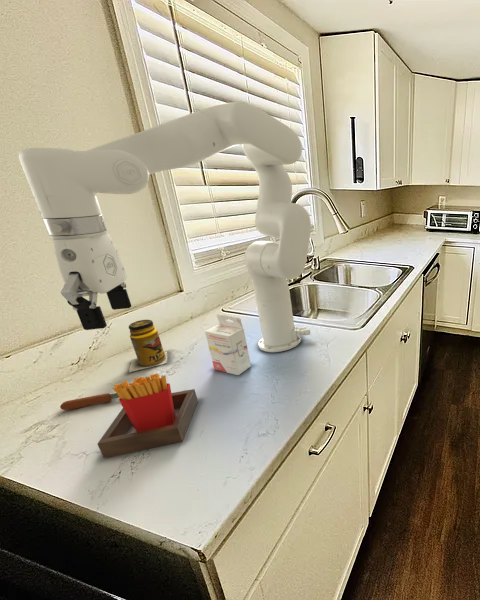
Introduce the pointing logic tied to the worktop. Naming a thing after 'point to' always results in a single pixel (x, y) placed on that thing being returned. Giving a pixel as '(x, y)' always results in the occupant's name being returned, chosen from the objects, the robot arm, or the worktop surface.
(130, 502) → the worktop surface
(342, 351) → the worktop surface
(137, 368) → the condiment
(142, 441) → the holder
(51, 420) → the worktop surface
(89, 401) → the kitchen knife
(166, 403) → the french fries
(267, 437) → the worktop surface
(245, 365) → the ink cartridge box
